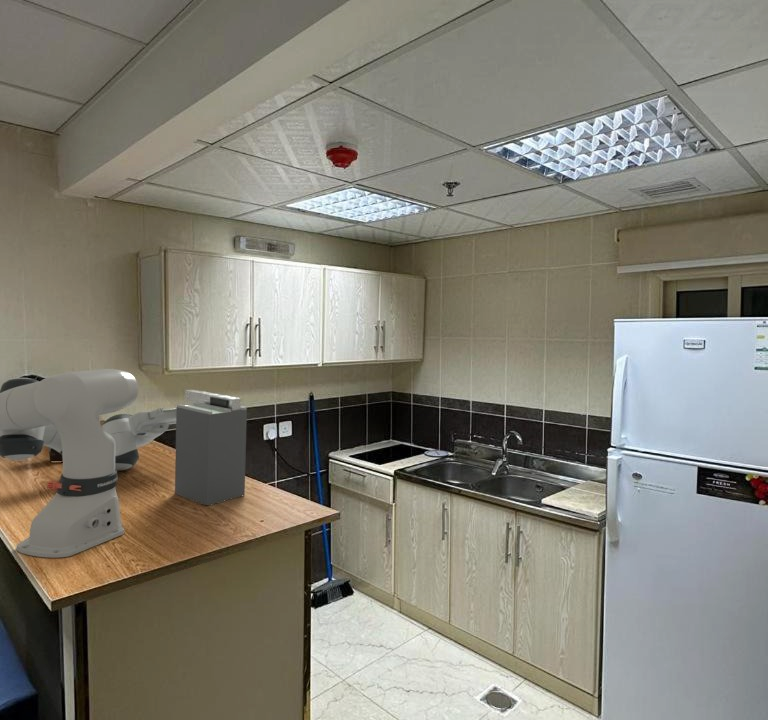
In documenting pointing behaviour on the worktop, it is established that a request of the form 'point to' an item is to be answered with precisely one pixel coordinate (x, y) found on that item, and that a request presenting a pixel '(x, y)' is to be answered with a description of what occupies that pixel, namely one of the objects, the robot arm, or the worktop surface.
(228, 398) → the brushed metal post
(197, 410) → the tall grey pillar
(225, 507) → the worktop surface
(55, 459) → the coffee mug
